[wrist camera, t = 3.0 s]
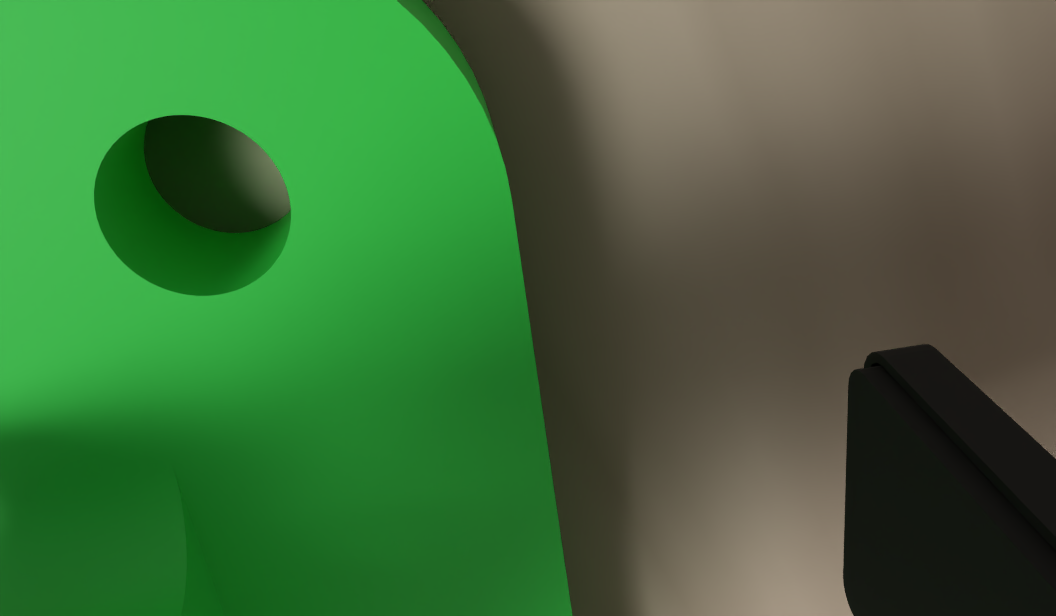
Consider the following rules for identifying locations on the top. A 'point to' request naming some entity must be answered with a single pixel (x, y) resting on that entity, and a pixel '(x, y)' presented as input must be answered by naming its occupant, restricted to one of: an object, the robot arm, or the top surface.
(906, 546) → the robot arm
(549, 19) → the top surface
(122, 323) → the mechanical part
